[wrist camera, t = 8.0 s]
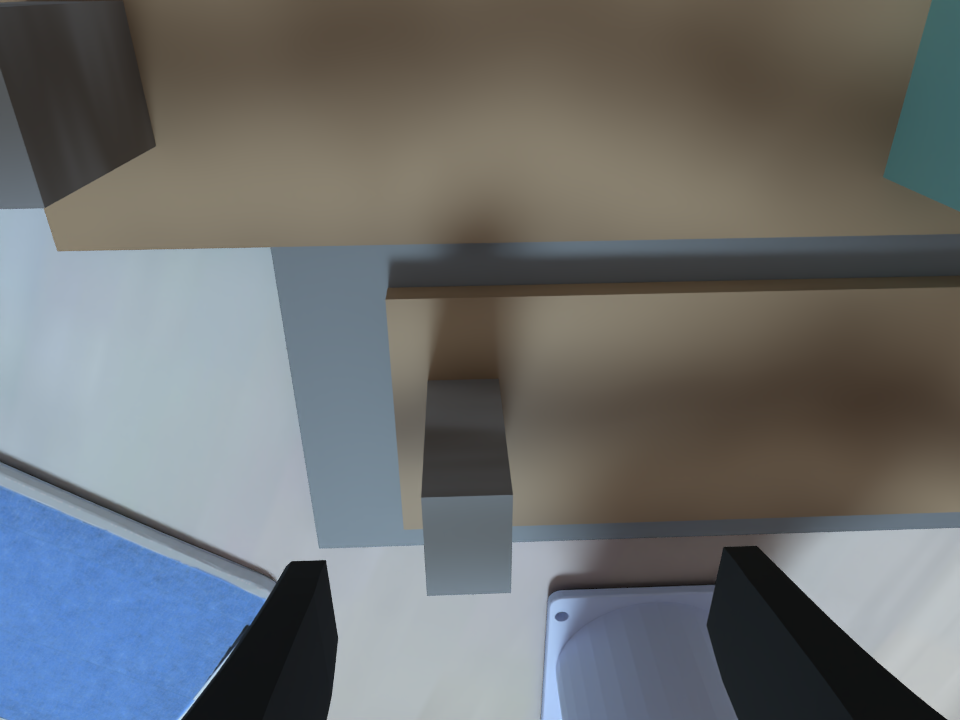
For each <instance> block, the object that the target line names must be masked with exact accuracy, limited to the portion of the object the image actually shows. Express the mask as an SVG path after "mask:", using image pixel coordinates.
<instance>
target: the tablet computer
mask: <svg viewBox="0 0 960 720" xmlns="http://www.w3.org/2000/svg"><path fill="white" fill-rule="evenodd" d="M275 585H276V582H275V581H274V580H272V579H271V578H269V577H267V576H265V575H263V574H261V573H258V572H256V571H254V570H251V569H249V568H247V567H244V566H242V565H240V564H238V563H235V562H233V561H231V560H228V559H226V558H223V557H221V556H218V555H216V554H213V553H211V552H208V551H206V550H203V549H201V548H198V547H196V546H194V545H191V544H189V543H186V542H184V541H181V540H179V539H177V538H174V537H172V536H169V535H167V534H165V533H162V532H160V531H157V530H155V529H153V528H150V527H148V526H146V525H144V524H141V523H139V522H137V521H134V520H132V519H130V518H127V517H125V516H123V515H121V514H118V513H116V512H114V511H111V510H109V509H107V508H104V507H102V506H100V505H97V504H95V503H93V502H90V501H88V500H86V499H83V498H81V497H79V496H76V495H74V494H72V493H70V492H67V491H65V490H63V489H60V488H58V487H56V486H54V485H51V484H49V483H47V482H44V481H42V480H40V479H38V478H35V477H33V476H31V475H28V474H26V473H24V472H22V471H19V470H17V469H15V468H13V467H10V466H8V465H6V464H4V463H1V462H0V718H1V719H4V720H181V719H182V718H183V716H184V715H185V714H186V713H187V711H188V710H189V709H190V707H191V706H192V705H193V704H194V702H195V701H196V700H197V698H198V697H199V696H200V694H201V693H202V692H203V690H204V689H205V688H206V687H207V685H208V684H209V683H210V681H211V680H212V679H213V677H214V676H215V675H216V673H217V672H218V671H219V669H220V668H221V667H222V665H223V664H224V662H225V661H226V659H227V658H228V657H229V655H230V654H231V652H232V651H233V649H234V648H235V646H236V645H237V644H238V642H239V641H240V639H241V638H242V636H243V635H244V633H245V632H246V631H247V629H248V628H249V626H250V625H251V623H252V621H253V620H254V618H255V617H256V615H257V614H258V612H259V611H260V609H261V608H262V606H263V604H264V603H265V601H266V600H267V598H268V596H269V595H270V593H271V591H272V590H273V588H274V586H275Z"/></svg>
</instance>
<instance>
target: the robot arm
mask: <svg viewBox="0 0 960 720" xmlns="http://www.w3.org/2000/svg"><path fill="white" fill-rule="evenodd" d="M558 612H563V613H558ZM337 644H338V635H337V629H336V622H335V616H334V609H333V603H332V597H331V590H330V584H329V577H328V571H327V565H326V560H319V561H292V562H290V563H289V564H288V565H287V566H286V568H285V569H284V571H283V573H282V574H281V576H280V578H279V580H278V581H277V583H276V585H275V586H274V588H273V590H272V591H271V593H270V595H269V596H268V598H267V600H266V601H265V603H264V604H263V606H262V608H261V609H260V611H259V612H258V614H257V615H256V617H255V618H254V620H253V621H252V623H251V625H250V626H249V628H248V629H247V631H246V632H245V633H244V635H243V636H242V638H241V639H240V641H239V642H238V644H237V645H236V646H235V648H234V649H233V651H232V652H231V654H230V655H229V657H228V658H227V659H226V661H225V662H224V664H223V665H222V667H221V668H220V669H219V671H218V672H217V673H216V675H215V676H214V677H213V679H212V680H211V681H210V683H209V684H208V685H207V687H206V688H205V689H204V690H203V692H202V693H201V694H200V696H199V697H198V698H197V700H196V701H195V702H194V704H193V705H192V706H191V707H190V709H189V710H188V711H187V713H186V714H185V715H184V716H183V718H182V719H181V720H327V716H328V711H329V706H330V701H331V697H332V689H333V680H334V672H335V663H336V653H337ZM541 720H947V719H946V718H944V717H943V716H942V715H940V714H939V713H938V712H937V711H935V710H934V709H933V708H931V707H930V706H929V705H928V704H927V703H925V702H924V701H923V700H922V699H920V698H919V697H918V696H917V695H915V694H914V693H913V692H912V691H911V690H909V689H908V688H907V687H906V686H905V685H904V684H902V683H901V682H900V681H899V680H898V679H897V678H895V677H894V676H893V675H892V674H891V673H890V672H888V671H887V670H886V669H885V668H884V667H883V666H881V665H880V664H879V663H878V662H877V661H876V660H875V659H873V658H872V657H871V656H870V655H869V654H868V653H867V652H866V651H865V650H863V649H862V648H861V647H860V646H859V645H858V644H857V643H856V642H855V641H854V640H853V639H852V638H850V637H849V636H848V635H847V634H846V633H845V632H844V631H843V630H842V629H841V628H840V627H839V626H838V625H837V624H836V623H834V622H833V621H832V620H831V619H830V618H829V617H828V616H827V615H826V614H825V613H824V612H823V611H822V610H821V609H820V608H819V607H818V606H817V605H816V604H815V603H814V602H813V601H812V600H811V599H810V598H809V597H808V596H807V595H806V594H805V593H804V592H803V591H802V590H801V589H800V588H799V587H798V586H797V585H796V584H795V583H794V582H793V581H792V580H791V579H790V578H789V577H788V576H787V575H786V574H785V573H784V572H783V571H782V570H781V569H780V568H779V567H777V566H776V565H775V564H774V563H773V562H772V561H771V560H770V559H769V558H768V557H767V556H766V555H765V554H764V553H763V552H762V551H761V550H760V549H759V548H758V547H757V546H742V547H724V548H723V552H722V557H721V561H720V566H719V570H718V575H717V579H716V584H715V585H697V586H669V587H640V588H611V589H583V590H560V591H556V592H554V593H552V594H551V595H550V596H549V598H548V606H547V623H546V640H545V657H544V674H543V691H542V708H541Z"/></svg>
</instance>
